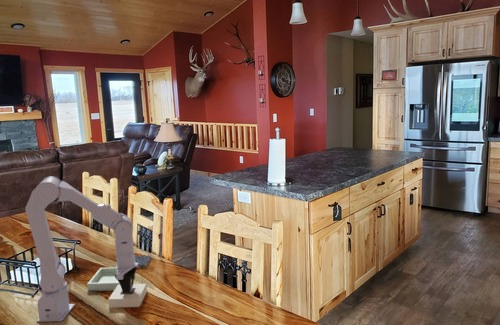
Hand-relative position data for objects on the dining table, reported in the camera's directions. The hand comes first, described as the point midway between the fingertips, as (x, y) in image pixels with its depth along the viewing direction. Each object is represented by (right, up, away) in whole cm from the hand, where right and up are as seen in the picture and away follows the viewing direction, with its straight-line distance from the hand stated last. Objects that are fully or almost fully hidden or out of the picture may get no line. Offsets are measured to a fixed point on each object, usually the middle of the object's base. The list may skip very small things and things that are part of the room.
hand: (127, 289), depth 132 cm
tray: (-10, -2, +13) cm, 17 cm away
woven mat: (-5, +1, +29) cm, 30 cm away
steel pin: (0, -4, +1) cm, 4 cm away
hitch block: (0, -4, +1) cm, 4 cm away
